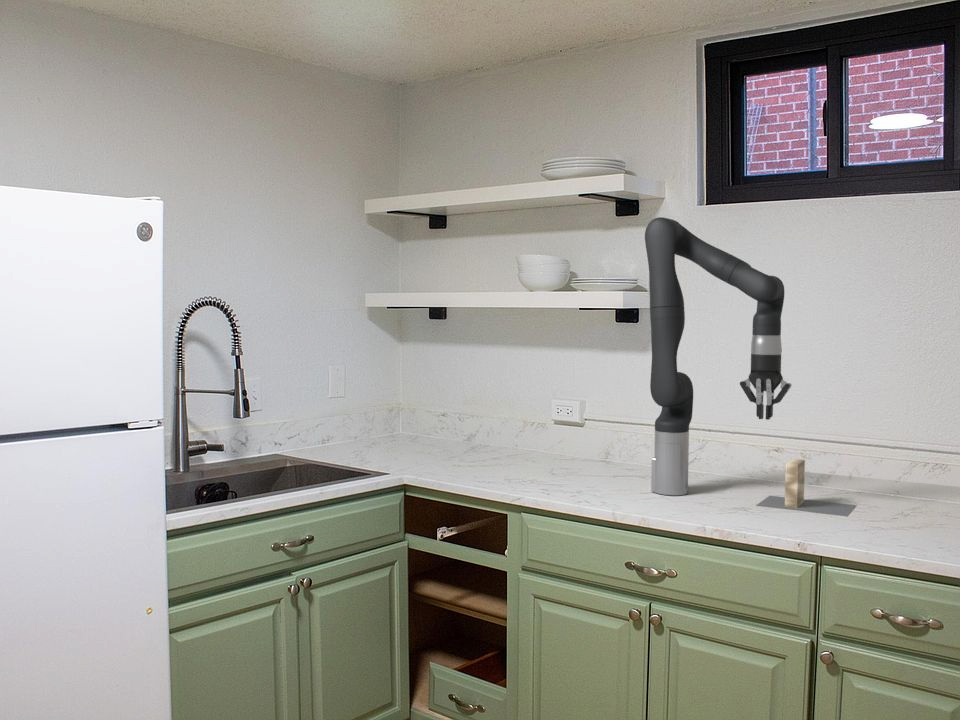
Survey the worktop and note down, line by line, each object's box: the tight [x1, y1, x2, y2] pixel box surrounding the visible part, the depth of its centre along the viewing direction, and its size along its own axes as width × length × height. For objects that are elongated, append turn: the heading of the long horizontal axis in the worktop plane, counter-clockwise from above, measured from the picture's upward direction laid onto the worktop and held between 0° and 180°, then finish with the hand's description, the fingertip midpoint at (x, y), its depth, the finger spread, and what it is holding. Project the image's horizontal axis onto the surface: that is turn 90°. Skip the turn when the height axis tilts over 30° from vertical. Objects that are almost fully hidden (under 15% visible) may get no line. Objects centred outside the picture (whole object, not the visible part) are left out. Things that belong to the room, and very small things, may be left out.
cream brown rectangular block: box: [784, 458, 806, 508], centre depth 233 cm, size 3×8×11 cm, turn 149°
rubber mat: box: [755, 495, 858, 518], centre depth 232 cm, size 22×14×1 cm, turn 59°
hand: (764, 418), depth 236 cm, fingers closed
